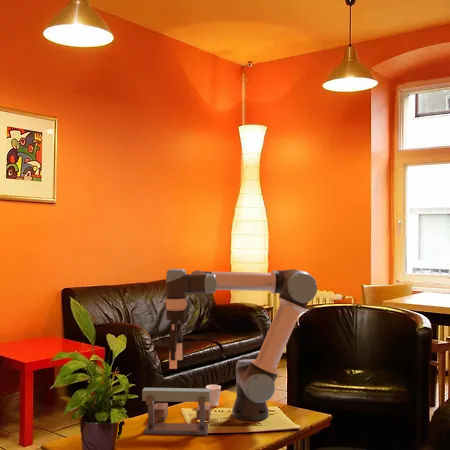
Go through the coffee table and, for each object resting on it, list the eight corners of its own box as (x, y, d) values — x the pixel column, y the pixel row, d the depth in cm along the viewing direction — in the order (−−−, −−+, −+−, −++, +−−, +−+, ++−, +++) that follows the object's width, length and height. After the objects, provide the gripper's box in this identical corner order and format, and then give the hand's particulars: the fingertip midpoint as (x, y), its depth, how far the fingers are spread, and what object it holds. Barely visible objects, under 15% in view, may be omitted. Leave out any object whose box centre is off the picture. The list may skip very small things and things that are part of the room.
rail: (210, 398, 225) (210, 388, 225) (209, 402, 221) (209, 391, 221) (144, 397, 227) (144, 387, 227) (142, 400, 223) (142, 390, 223)
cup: (223, 406, 254) (223, 388, 254) (201, 408, 250) (201, 390, 250) (218, 401, 260) (218, 383, 260) (197, 404, 257) (197, 385, 257)
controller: (117, 430, 225) (117, 404, 225) (125, 441, 214) (125, 414, 214) (106, 432, 223) (106, 406, 223) (114, 443, 212) (114, 415, 212)
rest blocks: (210, 415, 241) (210, 403, 241) (208, 422, 233) (208, 410, 233) (156, 414, 243) (156, 402, 243) (152, 421, 235) (152, 409, 235)
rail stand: (208, 427, 227) (208, 392, 227) (206, 435, 219) (206, 398, 219) (148, 426, 229) (147, 391, 229) (143, 434, 221) (143, 397, 221)
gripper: (171, 304, 237) (171, 356, 237) (160, 314, 212) (160, 372, 212) (189, 304, 236) (189, 356, 236) (180, 314, 211) (180, 372, 211)
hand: (175, 364), depth 224 cm, fingers open, 13 cm apart
